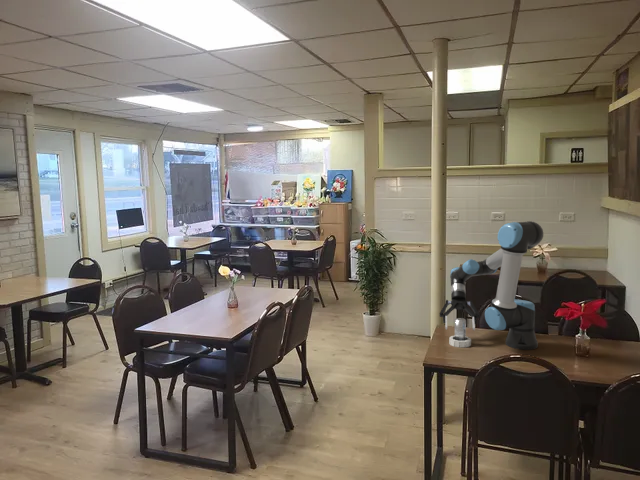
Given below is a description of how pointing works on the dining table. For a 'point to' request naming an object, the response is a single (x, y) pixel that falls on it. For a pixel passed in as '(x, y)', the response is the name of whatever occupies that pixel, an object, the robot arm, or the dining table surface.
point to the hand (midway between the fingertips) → (460, 328)
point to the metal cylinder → (460, 329)
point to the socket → (460, 342)
